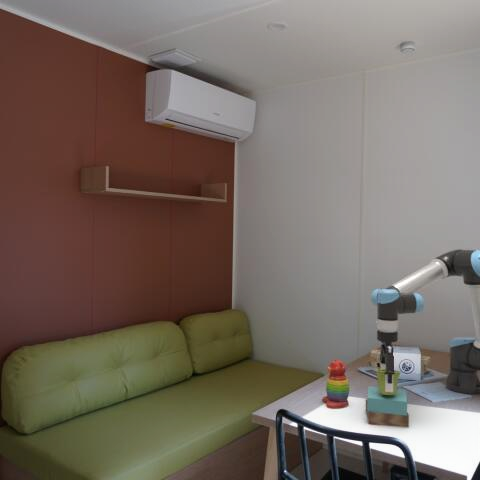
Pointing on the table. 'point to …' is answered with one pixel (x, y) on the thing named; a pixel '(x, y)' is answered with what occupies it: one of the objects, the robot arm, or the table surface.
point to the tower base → (387, 419)
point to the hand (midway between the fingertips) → (386, 385)
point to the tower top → (387, 402)
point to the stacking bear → (337, 386)
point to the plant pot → (381, 382)
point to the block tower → (376, 362)
